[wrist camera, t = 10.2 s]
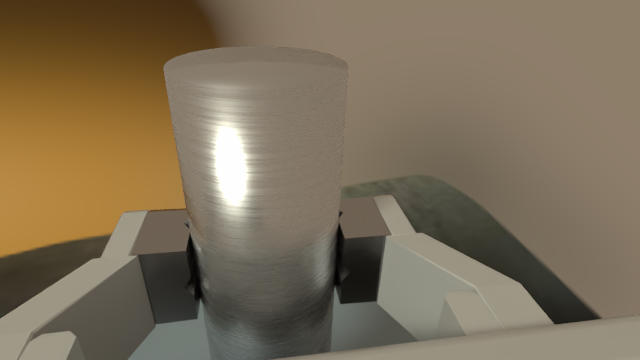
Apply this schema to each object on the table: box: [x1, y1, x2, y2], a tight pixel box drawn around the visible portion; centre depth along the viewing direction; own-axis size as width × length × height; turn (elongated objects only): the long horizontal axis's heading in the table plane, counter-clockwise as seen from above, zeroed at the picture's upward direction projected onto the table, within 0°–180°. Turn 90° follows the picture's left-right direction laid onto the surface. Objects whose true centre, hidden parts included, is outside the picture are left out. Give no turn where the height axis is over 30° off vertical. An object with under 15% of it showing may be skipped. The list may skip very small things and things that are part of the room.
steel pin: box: [163, 46, 348, 360], centre depth 9 cm, size 3×3×10 cm
